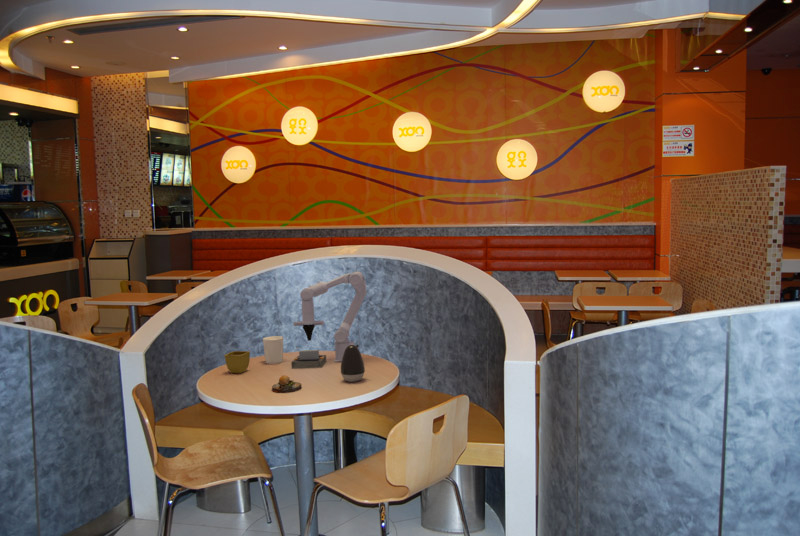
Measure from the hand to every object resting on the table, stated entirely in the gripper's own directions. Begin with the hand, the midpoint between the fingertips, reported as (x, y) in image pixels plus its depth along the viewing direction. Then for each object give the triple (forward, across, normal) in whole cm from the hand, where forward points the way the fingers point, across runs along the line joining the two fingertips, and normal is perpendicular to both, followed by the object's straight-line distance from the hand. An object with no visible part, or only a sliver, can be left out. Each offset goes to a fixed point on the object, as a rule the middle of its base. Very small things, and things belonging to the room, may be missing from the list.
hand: (309, 340), depth 301 cm
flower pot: (+11, +30, +18) cm, 37 cm away
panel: (+10, -1, +8) cm, 12 cm away
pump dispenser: (+11, -26, +40) cm, 49 cm away
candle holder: (+11, +18, 0) cm, 21 cm away
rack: (+10, -1, +8) cm, 13 cm away
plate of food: (+11, 0, +51) cm, 52 cm away
